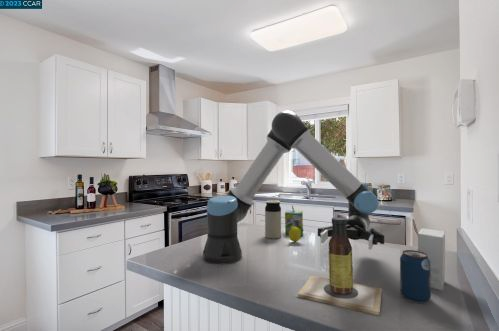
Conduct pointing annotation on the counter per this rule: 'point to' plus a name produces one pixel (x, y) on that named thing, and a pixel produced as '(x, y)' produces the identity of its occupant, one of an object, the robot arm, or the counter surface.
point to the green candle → (293, 220)
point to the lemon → (294, 232)
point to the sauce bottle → (340, 258)
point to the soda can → (415, 276)
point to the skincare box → (434, 254)
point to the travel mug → (273, 219)
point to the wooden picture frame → (357, 300)
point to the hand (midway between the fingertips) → (344, 241)
